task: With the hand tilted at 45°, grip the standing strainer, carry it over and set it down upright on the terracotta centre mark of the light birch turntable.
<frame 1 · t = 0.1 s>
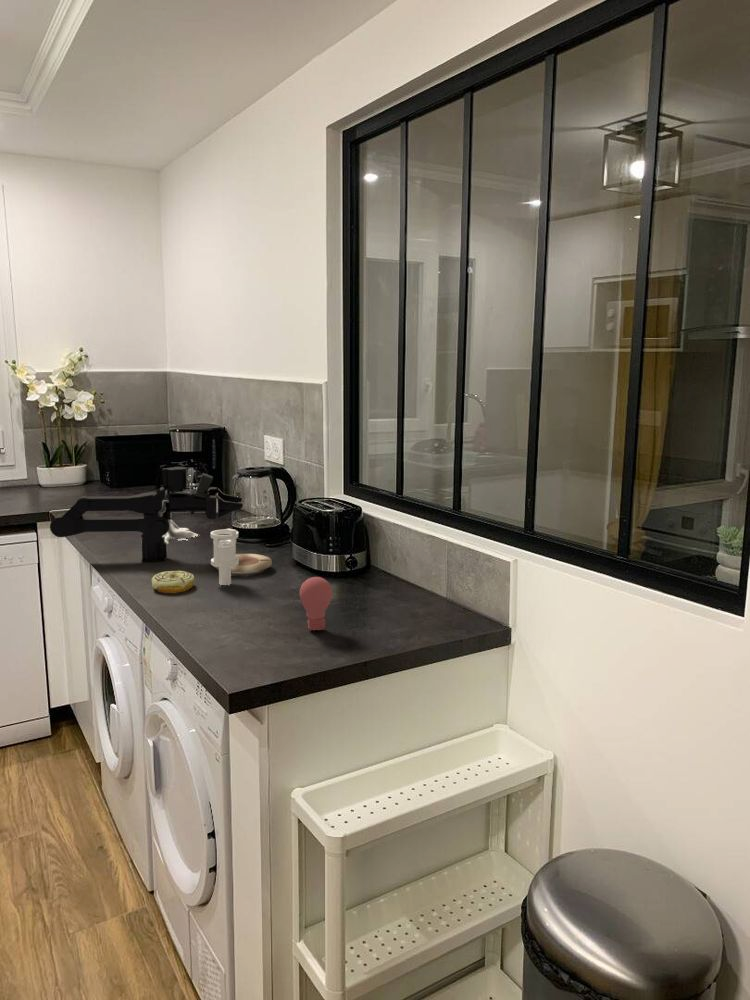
hand: (242, 502, 220), 17 cm above the worktop, tool horizontal, fingers open, 9 cm apart
decorated donut: (173, 589, 191), on the worktop
strainer: (225, 584, 196), on the worktop
light bulb: (315, 631, 164), on the worktop
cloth: (173, 538, 246), on the worktop
turntable: (242, 562, 209), point 2 cm above the worktop, hinge at 0.0°
turntable base: (242, 569, 209), on the worktop
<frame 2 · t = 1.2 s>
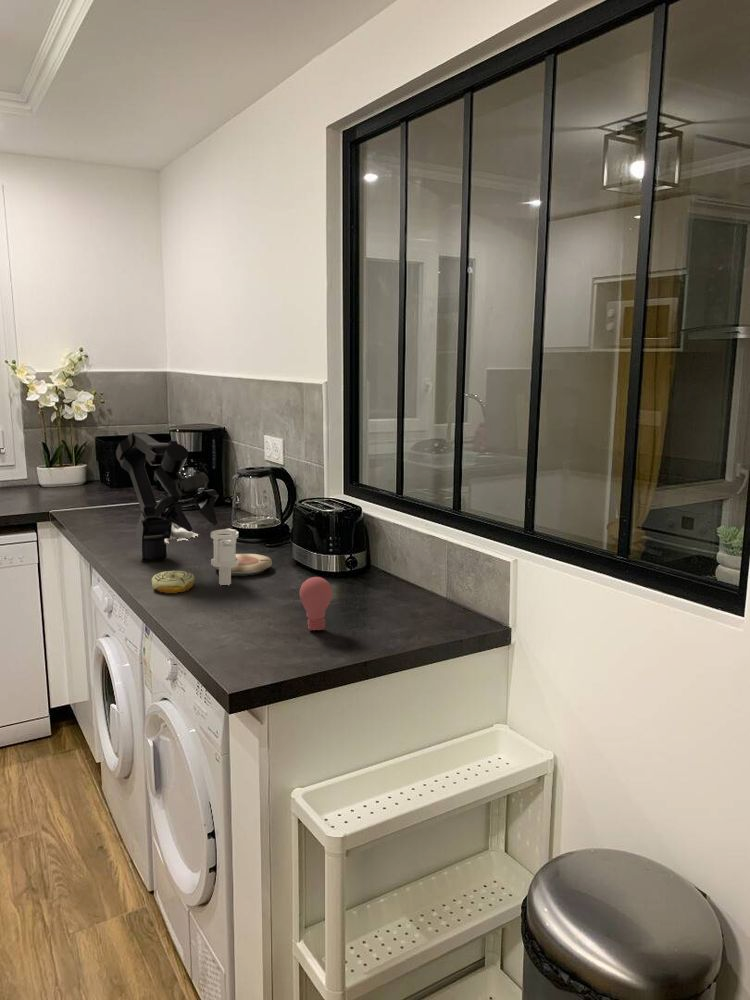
hand: (204, 527, 198), 14 cm above the worktop, tool tilted 45°, fingers open, 9 cm apart
nothing on the worktop moved.
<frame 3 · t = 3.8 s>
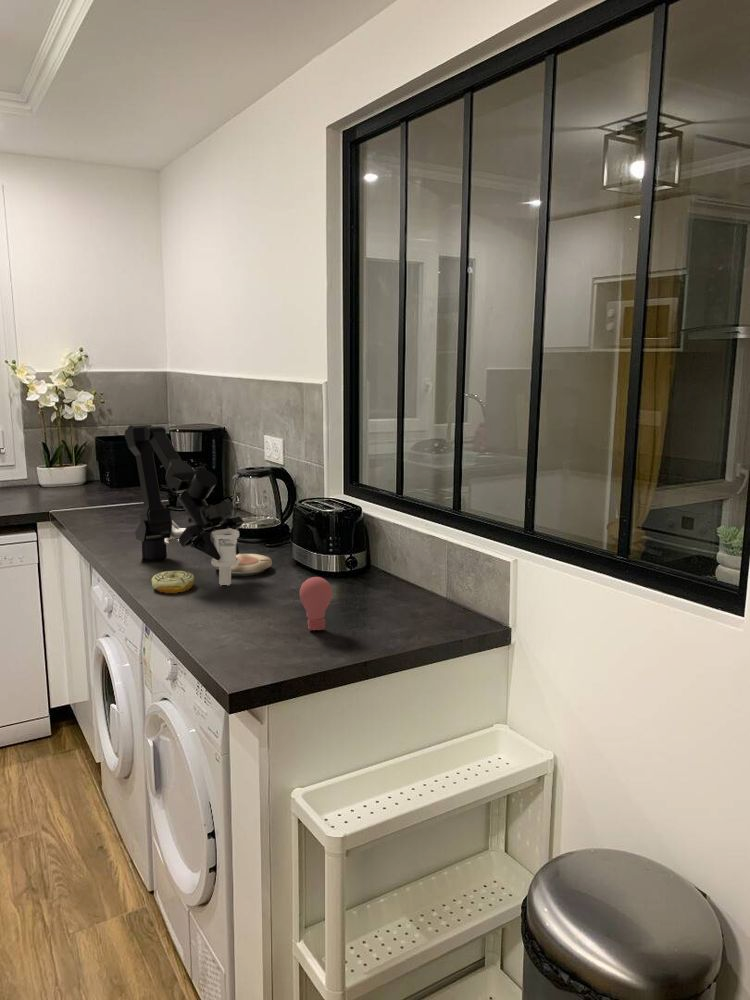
hand: (228, 556, 193), 8 cm above the worktop, tool tilted 45°, fingers closed on strainer, 6 cm apart
strainer: (225, 584, 196), on the worktop, touching gripper
everything else where it was.
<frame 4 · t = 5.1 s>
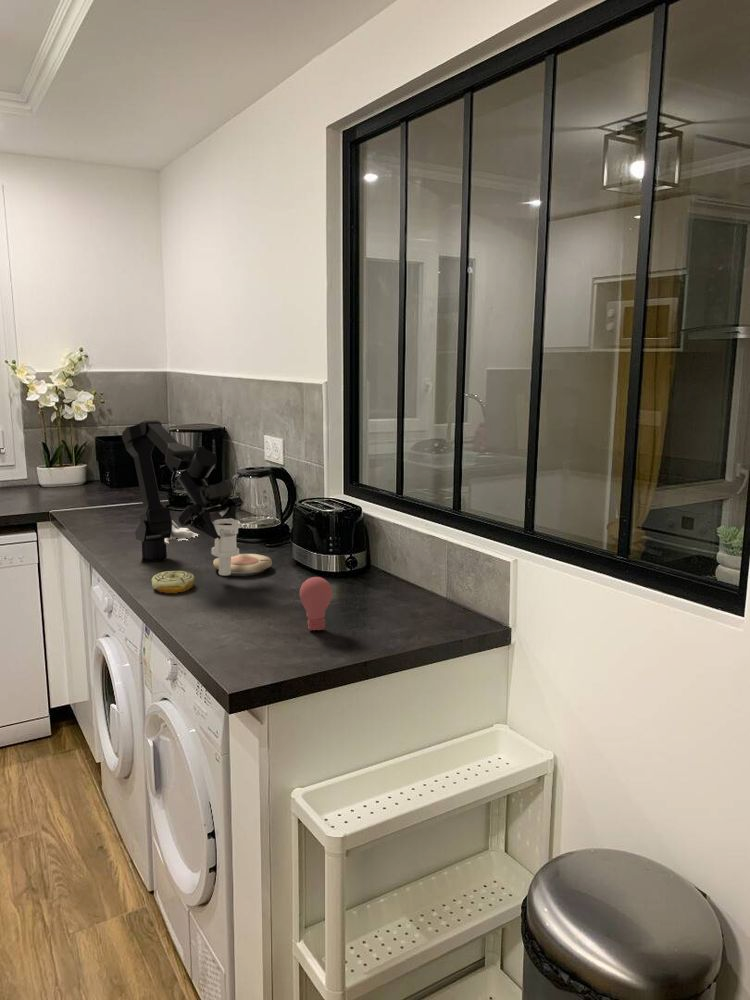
hand: (228, 536, 193), 13 cm above the worktop, tool tilted 45°, fingers closed on strainer, 6 cm apart
strainer: (224, 574, 195), point 3 cm above the worktop, touching gripper
everything else where it was.
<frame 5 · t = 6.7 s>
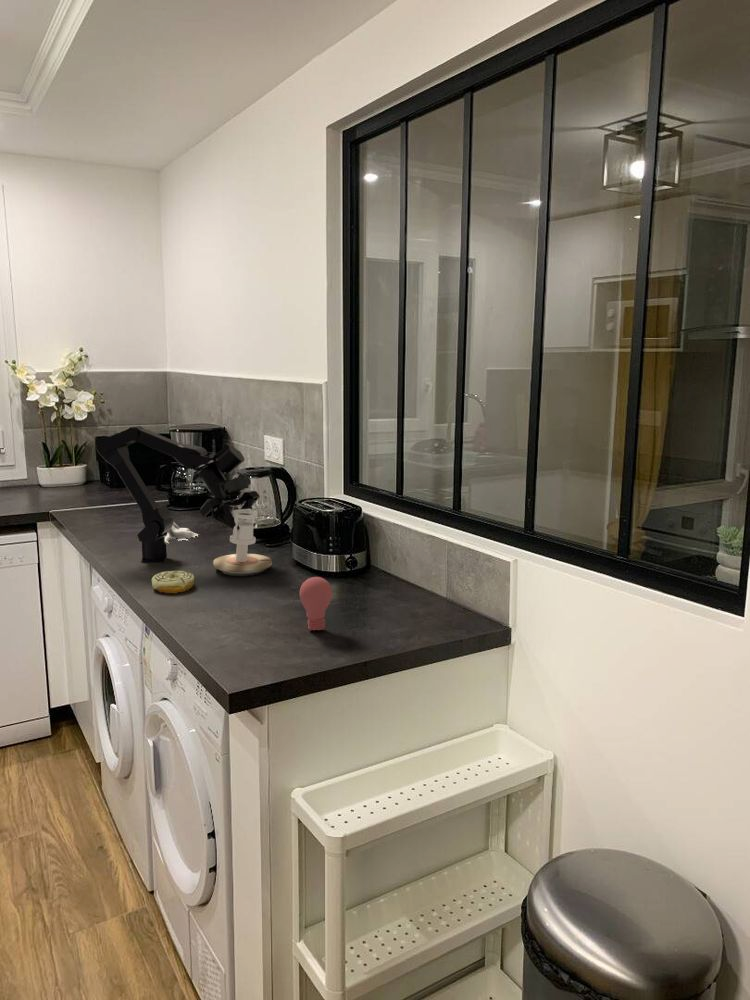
hand: (246, 527, 206), 12 cm above the worktop, tool tilted 45°, fingers closed on strainer, 6 cm apart
strainer: (241, 561, 208), point 3 cm above the worktop, touching gripper, turntable
turntable: (242, 562, 209), point 2 cm above the worktop, hinge at 0.0°, touching strainer
everything else where it was.
when the fingers open (12 cm above the worktop, at t = 6.9 s): strainer stays where it is, resting on turntable.
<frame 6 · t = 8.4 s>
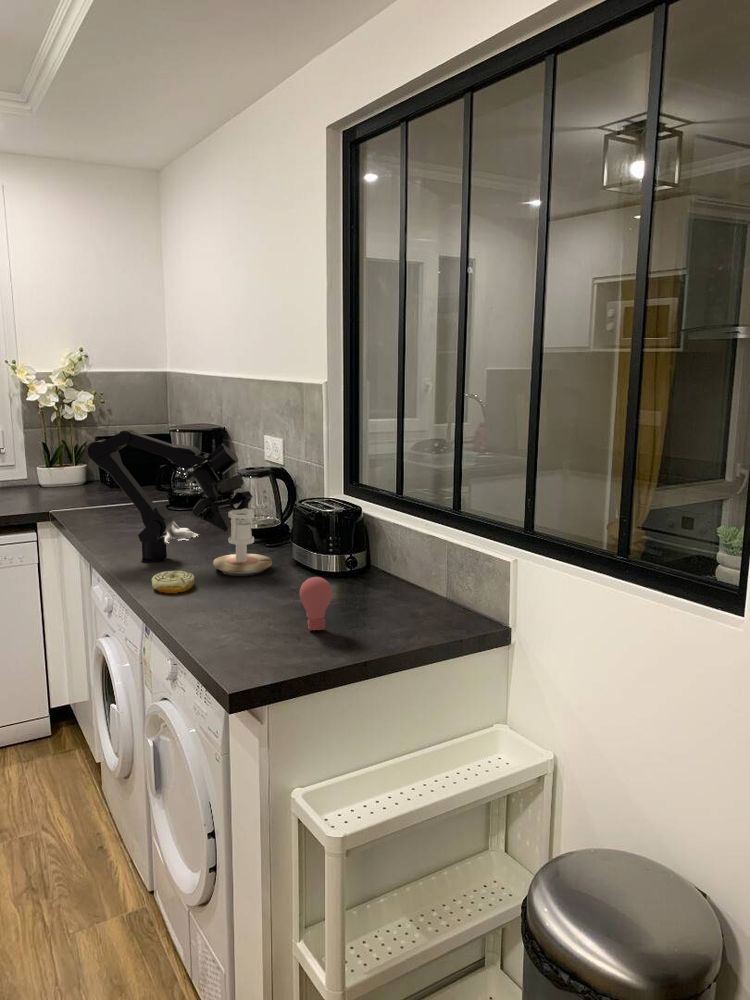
hand: (238, 527, 208), 12 cm above the worktop, tool tilted 45°, fingers open, 9 cm apart
strainer: (241, 561, 208), point 3 cm above the worktop, touching turntable
everything else where it was.
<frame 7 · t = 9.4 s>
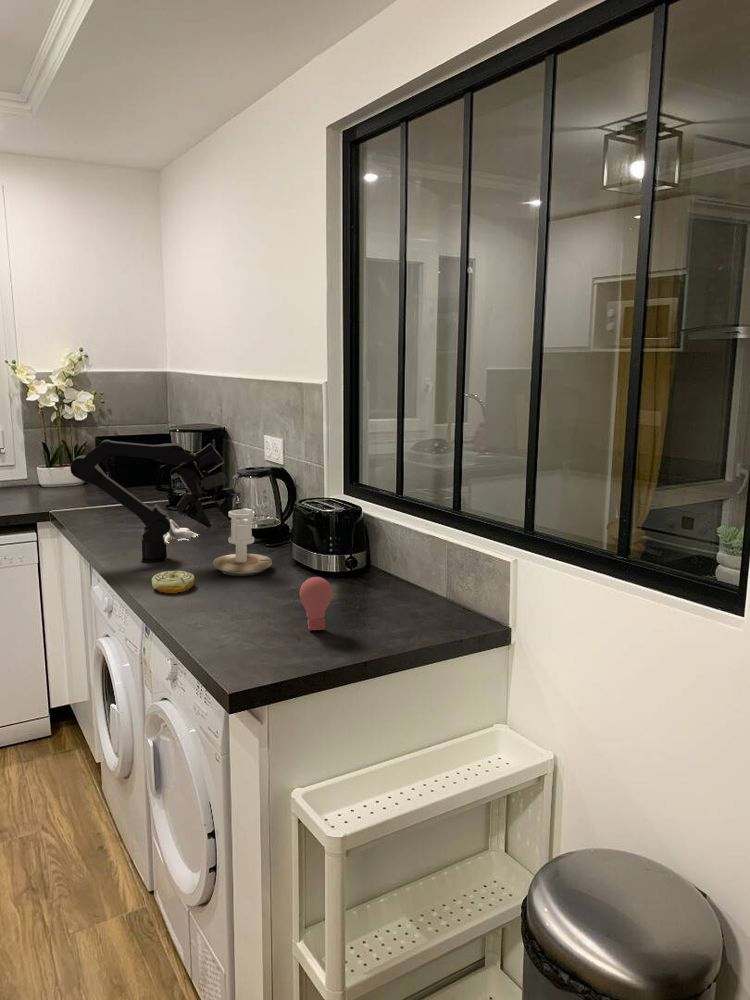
hand: (222, 524, 211), 12 cm above the worktop, tool tilted 45°, fingers open, 9 cm apart
nothing on the worktop moved.
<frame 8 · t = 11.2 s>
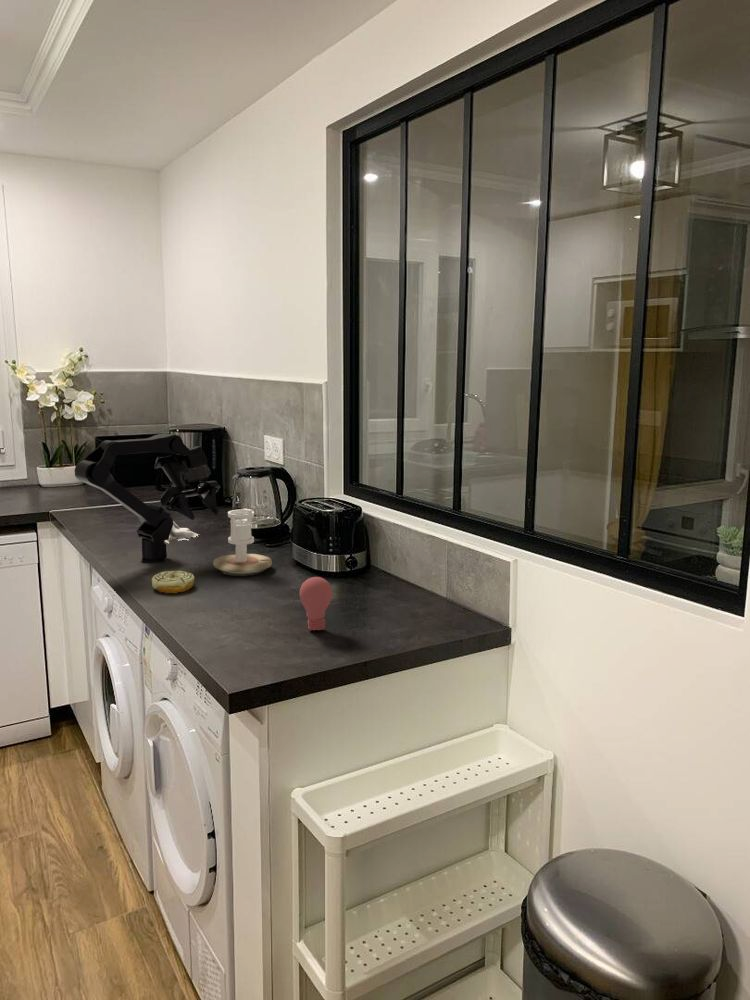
hand: (205, 516, 213), 14 cm above the worktop, tool tilted 45°, fingers open, 9 cm apart
nothing on the worktop moved.
at the end: strainer 0.5 cm from the turntable (horizontally); strainer tilted 1°; strainer touching turntable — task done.
